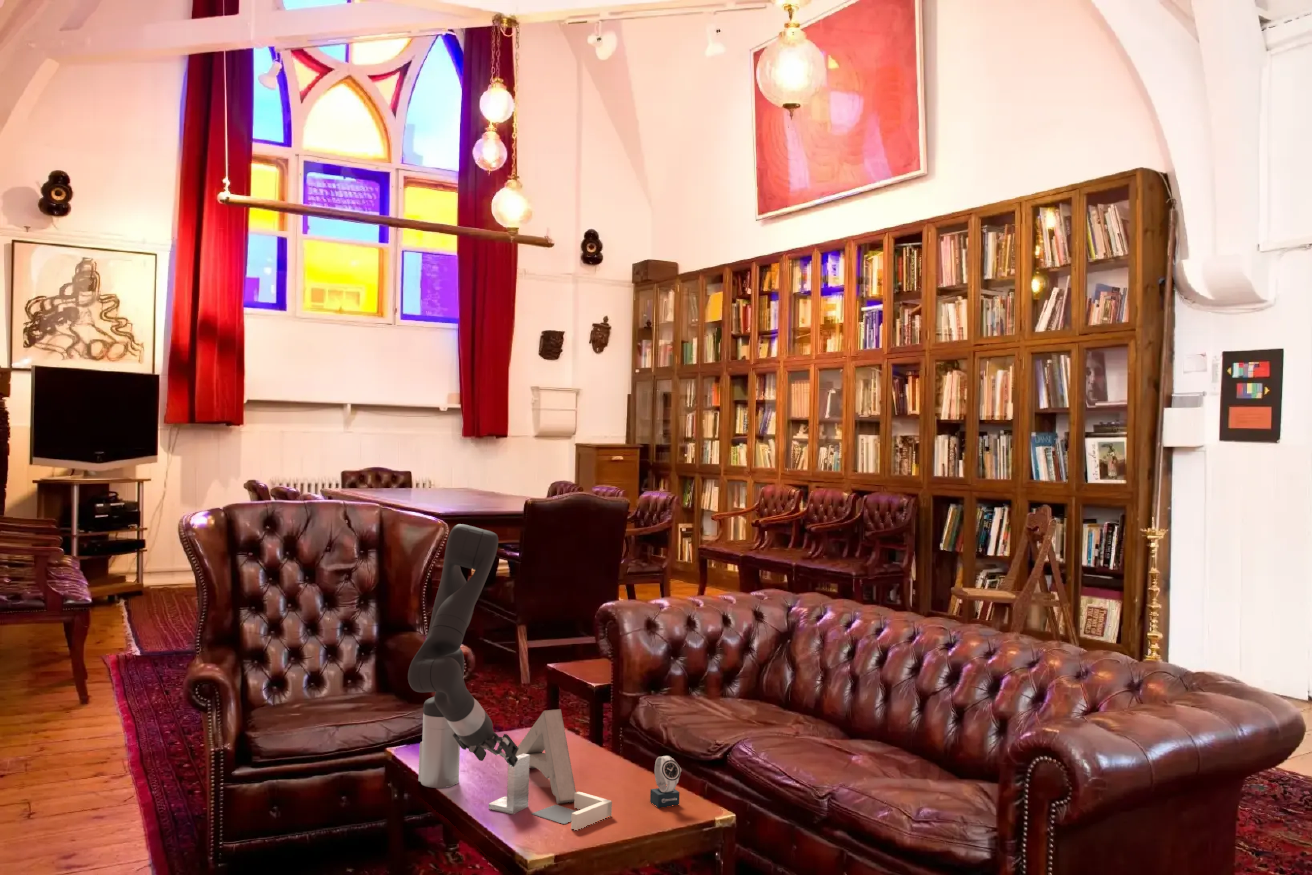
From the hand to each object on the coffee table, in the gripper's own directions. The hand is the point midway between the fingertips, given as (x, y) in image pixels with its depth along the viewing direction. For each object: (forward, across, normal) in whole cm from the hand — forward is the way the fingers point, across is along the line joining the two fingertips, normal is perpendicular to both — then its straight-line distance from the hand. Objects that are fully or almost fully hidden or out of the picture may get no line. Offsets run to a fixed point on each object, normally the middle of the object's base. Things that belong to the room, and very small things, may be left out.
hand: (498, 760), depth 224 cm
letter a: (+30, +7, -10) cm, 32 cm away
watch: (+30, -27, -11) cm, 42 cm away
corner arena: (+17, -15, +2) cm, 22 cm away
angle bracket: (+15, +2, +4) cm, 16 cm away
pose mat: (+17, -10, +2) cm, 20 cm away
